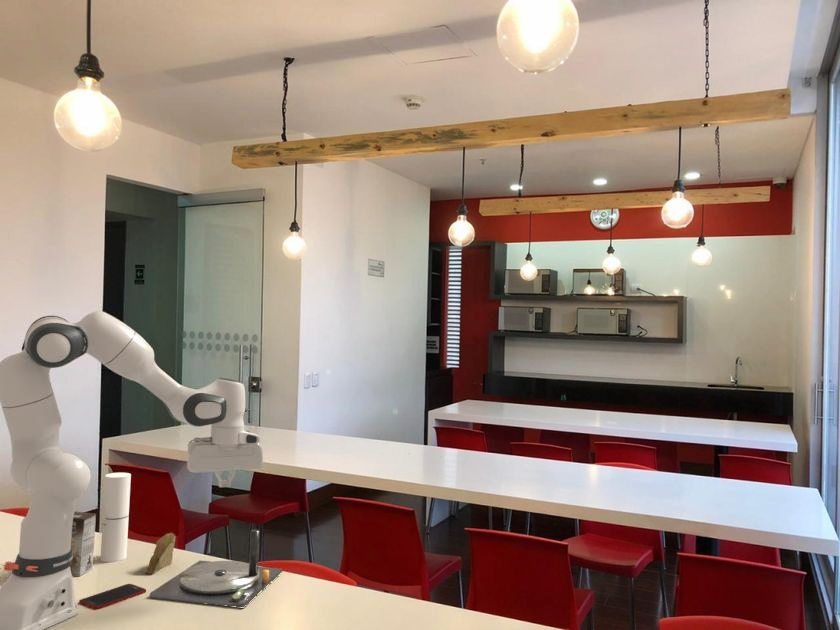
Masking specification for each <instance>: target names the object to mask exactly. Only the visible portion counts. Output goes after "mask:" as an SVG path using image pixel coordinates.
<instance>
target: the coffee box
mask: <svg viewBox="0 0 840 630" xmlns="http://www.w3.org/2000/svg"><path fill="white" fill-rule="evenodd" d="M96 517H97V513H94V512H93V513H91V512H82V511H75V512H74V516H73V523H72V536H71V549H72V555H73V558H72V564H71V566H70V570H71V574H72V577H81V576H83V575H85V574H86V573H88V572H90V571H91V570H93V565H94V552H95V551H94V550H95V537H96V536H95V535H96V521H97V518H96Z"/></svg>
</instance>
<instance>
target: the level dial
mask: <svg viewBox="0 0 840 630" xmlns="http://www.w3.org/2000/svg"><path fill="white" fill-rule="evenodd" d="M260 532H261V531H260V530H259V529H251V530H250V534H249V535H250V537H249V538H250V539H249V540H250V541H249V557H248V558H249V559H248V560H249V561H248V563H247V562H244V561H240V560H239V561H238V560H215V561H210V562H207V563H202V564H198V565H195V566H192V565H191V566H192V567H191V566H189V567H190V568H189V567H187V568H188V569H187V568H186V569H185V571H184V570H183V571H181V572H182V573H181V572H180V573H181V575H180V585H181V587H182V588H184V589H186V590H188V591H191V592H195V593H201V594H223V593H231V592H236V591H239V590H240V589H246V588H248V587H251V586H252V585H254V584H255V583H256V582H257V581H258V580H259V569H258V566H259V552H260V551H259V548H260Z"/></svg>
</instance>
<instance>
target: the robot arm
mask: <svg viewBox="0 0 840 630" xmlns="http://www.w3.org/2000/svg"><path fill="white" fill-rule="evenodd" d="M24 337H25V338H24V340H23V343H22V347H21V352H19V353H16V354H11V355H8V356H6V357H5V358H3V359H2V360H1V361H0V406H1V410H2V413H3V415H4V416H3V417H4V419H5V423H6V425H7V429H8V432H9V436H10V437H9V438H10V443H11V444H10V445H11V456H12V457H11V458H12V461H11V464H10V468H9V469H10V471H9V472H10V474H11V477H12V479H13V480H14V482H15V483H16V484H17V486H19V487H20V488H22V489H24V490H26V491H28V492H31V501H30V505H29V508H28V511H27V514H26V516H25V517H23V519H22V520H21V521H20V522H21V523H20V532H19V549H18V554H17V556H16V557H15V560H14V561H13V562H12V561H6V562H5V563H4V564H3V571H6V572H8V571H9V572H11V575H10V576H9V577H8V578H7V579H6V581H5V582H4V583H3V584H2V585H1V587H0V630H46V629H47V628H50V627H52V626H54V625H57V624H58V623H59V624H60V623H61V622H63V621H66V620H68V619H70V618H72V617H75V616H77V615H78V614H79V612H78V611H79V610H78V608H77V607H76V605H75V604H76V602H75V600H76V599H75V586H74V585H75V584H74V583H75V582H74V576H72V574H71V570H70V566H71V564H72V558H73V555H72V549H71V536H72V523H73V516H74V512H76V508H77V505H78V503H79V499H80V497H81V495H83V493H84V492H85V491H86V490H87V488H88V487H89V486H90V485H89V484H90V481H91V479H92V477H91V476H92V475H91V471H90V468H89V466H88V465H87V464H86V462H84V461H83V460H82V459H81V458H80V457H78V456H77V455H75V454H71V453H68V452H64V451H63V449H62V448H61V446H60V428H61V425H62V417H61V414H60V410H59V407H58V404H57V399H56V396H55V393H54V389H53V386H52V383H51V380H50V379H51V378H50V371H51V369H55V368H56V369H57V368H61V367H64V366H66V365H68V364H70V363H72V362H73V361H75V360H76V359H78V358H80V357H82V356H83V355H85V354H87V355H89V356H91V357H93V358H94V359H95V360H97V362H99V363H100V364H102V365H103V366H104V367H106V368H108V370H111V371H112V372H114V373H115V374H117V375H119V376H121V377H123V378H125V379H127V380H129V381H134V382H136V383H137V384H140V385H141V386H142V387H143V388H145V389H146V390H147V391H149V392H150V393H151V394H152V395H154V396H155V397H156V398H158V399H159V400H160V401H161V402H162V404H163V405H164V407H165V409H166V410H167V412H168V414H169V415H170V417H171V418H172V419H173V420H174V421H176V422H178V423H180V424H181V423H182V424H187V425H189V426H192V427H196V428H199V427H200V428H201V427H205V426H209V425H211V426H210V429H211V430H210V436H209V437H207V436H206V437H194V438H193V439H191V440H190V441H188V444H187V453H188V458H187V465H186V468H187V470H188V471H189V472H190V473H193V474H194V473H210V472H214V474H215V475H214V476H215V477H216V478H217V481H218V487H219V488H231V483H232V480H233V479H234V477H235V476H236V471H243V470H244V471H245V470H259V469H261V468H262V467H263V466H264V465H263V463H264V454H263V452H264V451H263V447H262V445H261V444H260V443H261V436H260V435H259V434H257V433H254V432H251V431H249V430H245V422H244V414H245V412H246V389H245V385H244V383H243V382H241V381H240V380H236V379H230V378H226V377H219V378H216V380H215V381H213V382H211V383H209V384H207V385H206V386H203V387H201V388H198V389H196V388H193V387H191V386H186V385H182V384H180V383H179V382H177V381H176V380H174V379H173V378H172V377H171V376H170V375H168V373H166V372H165V371H164V370H162V369H161V368H160V367H159V366H158V365H157V363H156V361H155V351H154V349H153V347H152V346H151V345H150V344H149V343H148V341H146V340H145V339H144V338H143V337H142V336H141V335H140V334H139V333H138V332H137V331H135V330H134V329H132V328H131V327H130V326H129V325H127V324H126V323H124V322H123V321H121V320H120V319H118V318H117V317H115V316H113V315H111V314H109V313H107V312H106V311H101V310H97V311H92V312H90V313H88V314H86V315H85V316H84V317H82V319H80V320H79V321H77V322H75V323H72V322H69V321H68V320H67V319H65V318H64V317H60V316H59V315H57V316H56V315H45V316H42V317H39V318H38V319H36V320H34V321H33V322H32V323H31V324H30V326H28V329H27V331H26V334H25V336H24ZM223 472H228V474H229V475H228V476H227V479H222V477H221V476H222V475H223Z"/></svg>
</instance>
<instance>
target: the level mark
mask: <svg viewBox="0 0 840 630" xmlns="http://www.w3.org/2000/svg"><path fill="white" fill-rule="evenodd" d="M268 582H269V570H263V571H262V583H268Z"/></svg>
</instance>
